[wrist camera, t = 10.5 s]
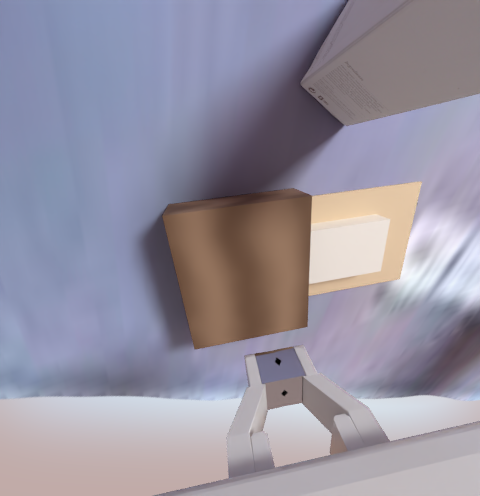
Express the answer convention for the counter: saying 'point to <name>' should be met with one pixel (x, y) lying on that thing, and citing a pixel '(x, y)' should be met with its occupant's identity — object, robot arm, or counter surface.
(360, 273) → the white rectangular prism
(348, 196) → the mat
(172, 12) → the counter surface
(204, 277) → the brown box
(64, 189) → the counter surface
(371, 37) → the skincare box
